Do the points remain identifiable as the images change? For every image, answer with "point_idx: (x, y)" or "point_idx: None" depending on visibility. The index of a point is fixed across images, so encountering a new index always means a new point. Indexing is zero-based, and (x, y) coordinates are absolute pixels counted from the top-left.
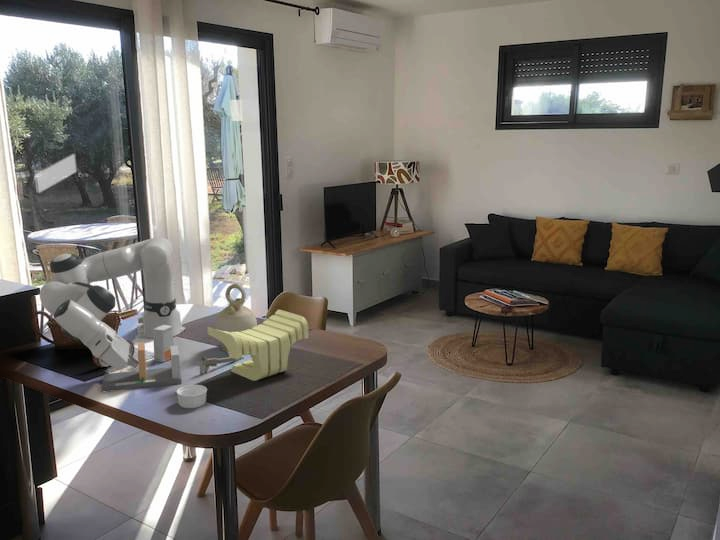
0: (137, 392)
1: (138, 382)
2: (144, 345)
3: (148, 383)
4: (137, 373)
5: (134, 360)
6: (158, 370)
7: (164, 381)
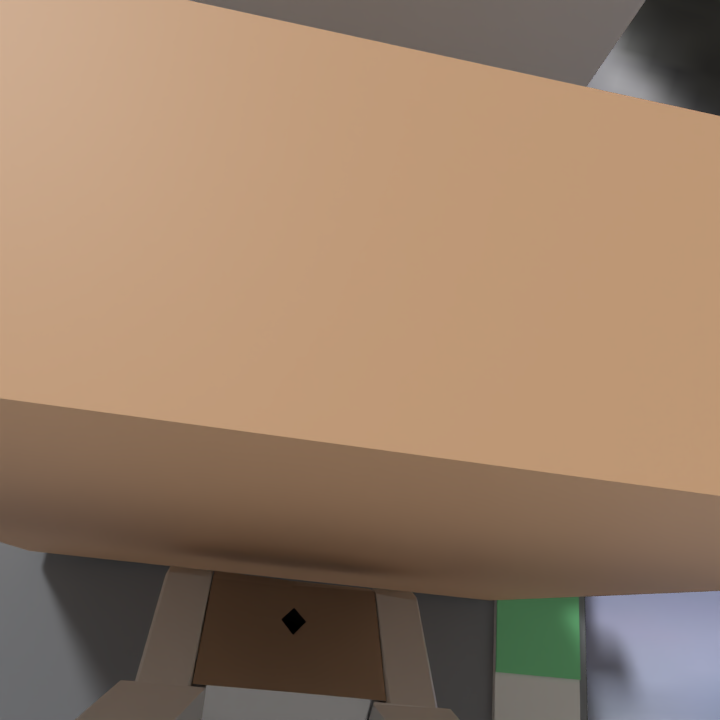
0: (709, 659)
1: (564, 625)
2: (47, 36)
3: None
4: (63, 605)
5: (282, 693)
6: None
7: None
